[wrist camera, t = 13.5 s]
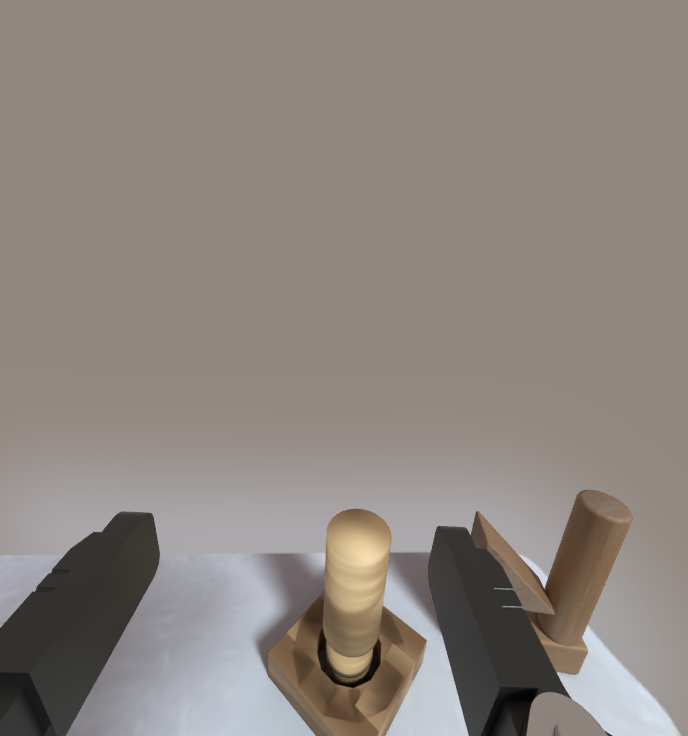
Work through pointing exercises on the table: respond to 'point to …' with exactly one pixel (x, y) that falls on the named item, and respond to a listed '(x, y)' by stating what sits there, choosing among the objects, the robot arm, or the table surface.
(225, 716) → the table surface
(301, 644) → the square wooden ring
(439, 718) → the table surface
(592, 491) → the wooden block
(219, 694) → the table surface
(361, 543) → the oak leg
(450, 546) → the robot arm
